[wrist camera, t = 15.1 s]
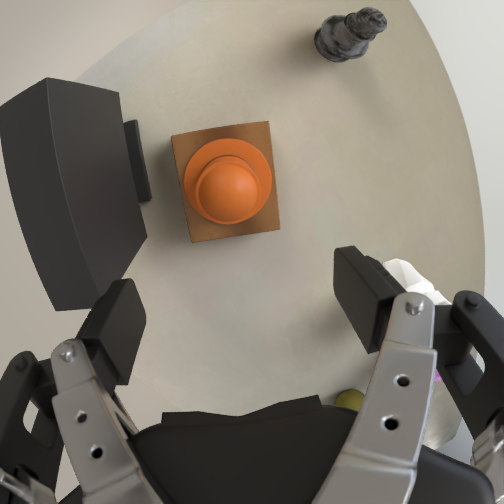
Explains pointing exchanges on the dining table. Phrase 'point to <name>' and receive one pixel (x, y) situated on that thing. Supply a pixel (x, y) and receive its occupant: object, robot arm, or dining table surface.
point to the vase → (413, 280)
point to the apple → (350, 399)
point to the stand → (193, 141)
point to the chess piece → (349, 34)
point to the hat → (227, 181)
